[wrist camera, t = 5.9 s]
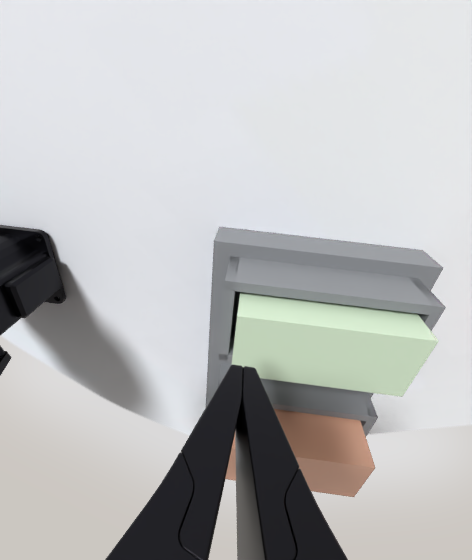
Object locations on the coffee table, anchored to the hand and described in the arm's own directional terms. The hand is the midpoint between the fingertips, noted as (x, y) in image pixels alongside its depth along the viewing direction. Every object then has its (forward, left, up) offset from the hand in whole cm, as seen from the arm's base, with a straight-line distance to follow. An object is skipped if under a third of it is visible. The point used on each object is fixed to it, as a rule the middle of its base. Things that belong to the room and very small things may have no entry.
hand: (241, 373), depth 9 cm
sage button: (+5, -3, -8) cm, 10 cm away
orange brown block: (+5, -13, -7) cm, 16 cm away
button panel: (+5, -8, -12) cm, 15 cm away
